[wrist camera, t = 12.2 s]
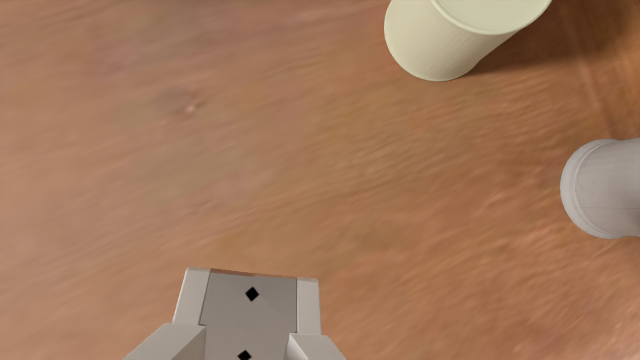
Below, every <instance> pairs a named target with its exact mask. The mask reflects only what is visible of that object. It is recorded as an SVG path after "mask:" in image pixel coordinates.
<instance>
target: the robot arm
mask: <svg viewBox="0 0 640 360" xmlns="http://www.w3.org/2000/svg"><path fill="white" fill-rule="evenodd" d="M122 360H347V359H346V358H345V357H344V355H343V354H342V353H341V352H340V350H339V349H338V348H337V346H336V345H335V344H334V343H333V341H332V340H331V339H330V337H329V336H325V335H322V327H321V311H320V294H319V281H318V279H317V278H305V277H293V276H282V275H270V274H259V273H246V272H238V271H230V270H222V269H213V268H211V269H209V268H201V267H193V266H189V267H188V268H187V270H186V273H185V277H184V280H183V284H182V288H181V292H180V295H179V299H178V303H177V306H176V310H175V314H174V317H173V321H172V323H164V324H163V325H162V326H161V327H159V328H158V329H157V330H156V331H155V332H154V333H152V334H151V335H150V336H149V337H148V338H146V339H145V340H144V341H143V342H142V343H141V344H139V345H138V346H137V347H136V348H135V349H134V350H132V351H131V352H130V353H129V354H128V355H127V356H125V357H124V358H123V359H122Z"/></svg>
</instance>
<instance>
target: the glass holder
mask: <svg viewBox="0 0 640 360" xmlns="http://www.w3.org/2000/svg"><path fill="white" fill-rule="evenodd" d="M560 193H561V199H562V203H563V205H564V208H565V210H566V212H567V214H568V216H569V217H570V218H571V220H572V221H573V222H574V223H575V224H576V225H577V226H578V227H579V228H580V229H581V230H583V231H585V232H586V233H588V234H590V235H593V236H595V237H599V238H604V239H616V238H622V237H625V236H635V237H640V137H638V138H633V139H628V140H622V141H621V140H616V139H600V140H595V141H592V142H589V143H587V144H585V145H583V146H582V147H580V148H579V149H578V150H577V151H575V152H574V153H573V154H572V156H571V157H570V158H569V159H568V161H567V163H566V165H565V167H564V169H563V172H562V176H561V182H560Z"/></svg>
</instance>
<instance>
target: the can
mask: <svg viewBox="0 0 640 360" xmlns="http://www.w3.org/2000/svg"><path fill="white" fill-rule="evenodd" d="M551 1H552V0H392V1H391V2H390V5H389V7H388V9H387V12H386V16H385V21H384V33H385V39H386V43H387V46H388V48H389V51H390V53H391V54H392V56H393V58H394V59H395V60H396V61H397V63H398V64H399V65H400V66H401V67H402V68H403V69H405V70H406V71H407V72H409V73H410V74H412V75H414V76H416V77H418V78H421V79H424V80H429V81H447V80H452V79H455V78H458V77H460V76H462V75H464V74H466V73H467V72H469V71H470V70H471V69H472V68H473V67H474V66H475V65H476V64H477V63H478V62H479V61H480V60H481V59H482V58H483V57H485V56H486V55H487V54H488V53H490V52H491V51H492V50H494V49H495V48H496V47H498V46H499V45H500V44H502V43H503V42H504V41H506V40H507V39H508V38H510V37H511V36H512V35H514V34H515V33H517V32H518V31H519V30H521V29H522V28H524V27H526V26H528V25H529V24H531V23H532V22H534V21H535V20H536V19H537V18H538V17H540V16H541V15H542V13H543V12H544V11H545V10H546V9H547V7H548V6H549V5H550V3H551Z"/></svg>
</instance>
